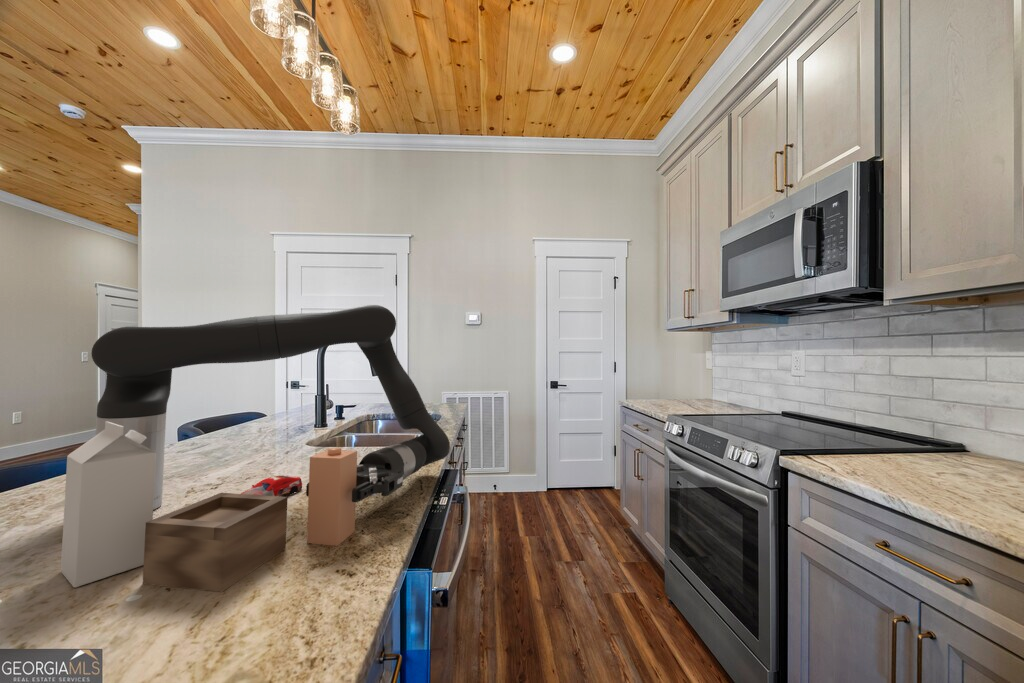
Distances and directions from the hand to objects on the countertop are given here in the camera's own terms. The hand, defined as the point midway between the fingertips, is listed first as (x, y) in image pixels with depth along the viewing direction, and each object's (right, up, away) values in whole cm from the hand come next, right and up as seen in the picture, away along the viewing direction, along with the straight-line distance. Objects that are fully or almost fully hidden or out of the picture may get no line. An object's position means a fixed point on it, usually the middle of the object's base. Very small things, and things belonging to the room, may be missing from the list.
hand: (330, 493), depth 62 cm
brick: (0, -7, 0) cm, 7 cm away
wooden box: (-11, -6, -8) cm, 15 cm away
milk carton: (-25, -6, -10) cm, 28 cm away
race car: (-20, -8, +17) cm, 27 cm away
